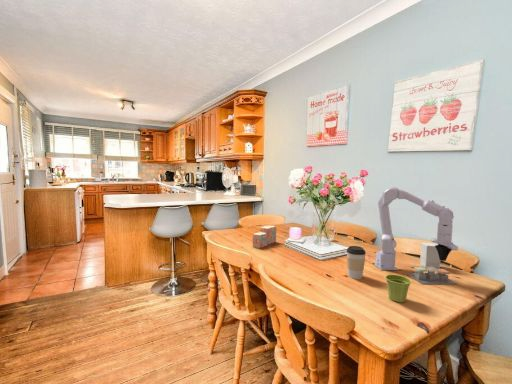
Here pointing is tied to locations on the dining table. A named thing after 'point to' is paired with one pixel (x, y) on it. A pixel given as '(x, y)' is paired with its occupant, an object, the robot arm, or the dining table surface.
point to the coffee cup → (355, 261)
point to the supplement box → (429, 255)
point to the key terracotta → (442, 272)
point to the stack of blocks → (264, 236)
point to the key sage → (420, 270)
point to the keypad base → (431, 278)
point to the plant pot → (397, 287)
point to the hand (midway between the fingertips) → (442, 260)
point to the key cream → (431, 270)
